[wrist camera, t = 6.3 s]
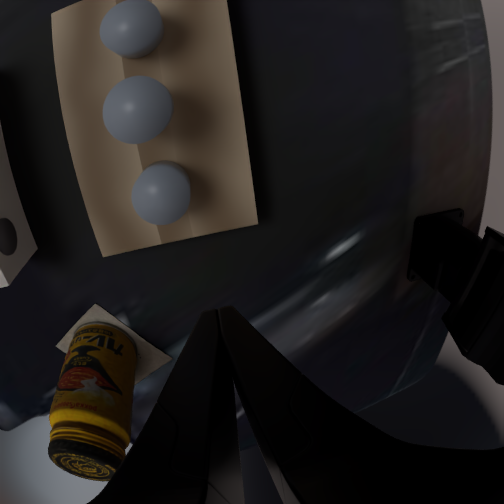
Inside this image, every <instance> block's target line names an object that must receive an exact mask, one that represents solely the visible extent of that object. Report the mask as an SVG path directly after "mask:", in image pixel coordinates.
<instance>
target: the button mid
mask: <svg viewBox="0 0 504 504" xmlns="http://www.w3.org/2000/svg"><path fill="white" fill-rule="evenodd" d="M173 112H174V101H173V98H172V95H171V93H170V91H169V90H168V89H167V88H166V87H165V86H164V85H163V84H161V83H160V82H159V81H157V80H155V79H153V78H151V77H148V76H132V77H129V78H126V79H124V80H122V81H120V82H119V83H117V84H116V85H115V86H114V87H113V88H112V89H111V90H110V92H109V93H108V95H107V97H106V99H105V101H104V105H103V120H104V124H105V126H106V128H107V130H108V131H109V133H110V134H111V135H112V136H113V137H114V138H116V139H117V140H119V141H121V142H124V143H128V144H140V143H144V142H147V141H149V140H151V139H153V138H155V137H156V136H157V135H158V134H160V133H161V132H162V131H163V130H164V129H165V128H166V127H167V126H168V124H169V123H170V121H171V119H172V116H173Z"/></svg>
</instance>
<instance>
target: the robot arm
mask: <svg viewBox="0 0 504 504" xmlns="http://www.w3.org/2000/svg"><path fill="white" fill-rule="evenodd" d="M463 217H464V211H463V210H462V209H460V208H458V209H453V210H448V211H443V212H438V213H434V214H429V215H424V216H419V217H417V218H416V219H415V222H414V230H413V238H412V246H411V253H410V260H409V266H408V272H407V279H408V280H409V281H411V282H412V281H415V280H418V279H421V278H422V279H423V280H424V281H425V282H426V283H427V284H428V285H429V286H431V287H432V288H433V289H434V290H435V291H437V290H438V291H439V292H440V293H441V294H442V295H443V296H444V297H445V298H446V299H447V300H448V301H449V302H450V303H451V304H450V306H449V308H448V310H447V311H446V313H444V315H443V316H442V320H443V322H444V323H445V325H446V327H447V329H448V331H449V332H450V334H451V336H452V337H453V339H454V341H455V343H456V345H457V346H458V348H459V350H460V352H461V354H462V355H463V356H464V357H466V358H467V359H468V360H470V361H472V362H474V363H476V364H477V365H480V366H482V367H483V368H484V369H485V370H486V371H487V372H488V373H489V375H490V376H491V377H492V378H493V379H494V380H495V382H496V383H498V384H501V385H504V234H503V233H500V232H498V231H496V230H494V229H492V228H490V227H488V226H487V227H486V230H485V235H484V237H483V239H482V238H480V237H479V236H477V235H476V234H474V233H473V232H471V231H470V230H468V229H467V228H465V227H463V226H462V223H463ZM420 221H421V222H420ZM419 223H420V224H419ZM232 377H233V378H232ZM233 381H234V383H233ZM234 384H235V387H236V390H237V392H238V395H239V398H240V400H241V403H242V406H243V408H244V411H245V413H246V416H247V418H248V421H249V423H250V426H251V428H252V431H253V433H254V436H255V438H256V441H257V443H258V446H259V448H260V450H261V453H262V455H263V457H264V460H265V462H266V465H267V467H268V469H269V472H270V474H271V476H272V478H273V481H274V483H275V485H276V488H277V490H278V492H279V494H280V496H281V499H282V501H283V503H284V504H504V447H502V448H497V449H490V450H474V449H456V448H445V447H434V446H426V445H418V444H412V443H408V442H404V441H401V440H399V439H396V438H394V437H392V436H390V435H388V434H386V433H384V432H383V431H381V430H379V429H378V428H376V427H375V426H373V425H371V424H370V423H368V422H366V421H365V420H363V419H362V418H360V417H359V416H357V415H356V414H354V413H352V412H351V411H349V410H348V409H346V408H345V407H343V406H342V405H340V404H339V403H338V402H336V401H335V400H333V399H332V398H331V397H329V396H328V395H327V394H325V393H324V392H323V391H322V390H321V389H319V388H318V387H317V386H316V385H315V384H313V383H312V382H311V381H310V380H309V379H308V378H307V377H306V376H305V375H303V374H302V373H301V372H300V371H299V370H298V369H297V368H296V367H295V366H294V365H293V364H292V363H291V362H289V361H288V360H287V359H286V358H285V357H284V356H283V355H282V354H281V353H280V352H279V351H278V350H277V349H276V348H275V347H274V346H273V345H272V344H271V343H270V342H268V341H267V340H266V339H265V338H264V337H263V336H262V335H261V334H260V333H259V332H258V331H257V330H256V329H255V328H254V327H253V326H252V325H251V324H250V323H249V322H248V321H247V320H246V319H245V318H244V317H243V316H242V315H241V314H240V313H239V312H238V311H237V310H236V309H235V308H234V307H233V306H226V307H221V308H218V310H216V309H211V310H206V311H203V312H202V313H201V314H200V316H199V318H198V320H197V322H196V324H195V326H194V328H193V330H192V332H191V334H190V336H189V338H188V340H187V342H186V344H185V346H184V348H183V350H182V352H181V354H180V356H179V358H178V360H177V362H176V364H175V366H174V368H173V370H172V372H171V374H170V376H169V378H168V380H167V382H166V384H165V386H164V388H163V390H162V392H161V394H160V396H159V398H158V400H157V402H158V403H156V404H155V406H154V408H153V410H152V412H151V414H150V416H149V418H148V420H147V422H146V423H145V425H144V427H143V429H142V431H141V432H140V434H139V436H138V437H137V439H136V441H135V442H134V444H133V445H132V447H131V449H130V450H129V452H128V453H127V455H126V456H125V458H124V459H123V461H122V462H121V464H120V465H119V467H118V468H117V470H116V471H115V473H114V474H113V476H112V477H111V479H110V480H109V482H108V483H107V485H106V486H105V487H104V489H103V490H102V491H101V492H100V493H99V495H97V496H96V497H95V498H94V499H93V500H91V501H90V502H89V503H87V504H245V500H244V491H243V482H242V472H241V463H240V462H241V461H240V451H239V440H238V429H237V418H236V406H235V393H234Z"/></svg>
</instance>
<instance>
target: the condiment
mask: <svg viewBox="0 0 504 504" xmlns="http://www.w3.org/2000/svg"><path fill="white" fill-rule="evenodd" d="M56 347H57V348H59V349H60V350H62V351H63V352H65V353H66V354H67V355H66V357H65V362H64V365H63V367H62V371H61V374H60V377H59V381H58V385H57V388H56V393H55V396H54V399H53V403H52V405H51V410H50V415H49V420H50V424H51V427H52V430H51V432H50V443H49V447H48V454H49V457H50V459H51V460H52V461H53V463H55V464H56V465H57V466H58V467H60V468H61V469H63V470H64V471H67V472H69V473H70V474H73V475H75V476H78V477H81V478H85V479H90V480H96V481H109V480H110V479H111V477H112V476H113V474H114V473H115V471H116V470H117V468H118V467H119V465H120V464H121V462H122V461H123V459H124V458H125V456H126V454H125V449H126V448H127V447H128V445H129V443H130V438H131V422H132V404H133V391H134V385H136V384H137V383H139V382H140V381H141V380H142V379H144V378H145V377H147V376H148V375H150V374H151V372H154V371H156V370H157V369H159V368H160V367H161V366H162V365H164V364H166V363H167V362H169V361H170V360H172V359H173V358H171V357H169V356H168V355H166V354H164V353H163V352H162V351H160V350H159V349H157V348H155V347H154V346H153V345H151V344H150V343H148V342H146V341H145V340H144V339H143V338H141V337H140V336H139V335H137V334H136V333H135V332H134V331H132V330H131V329H130V328H128V327H127V326H125V325H124V324H123V323H121V322H120V321H118V320H117V319H116V318H115V317H113V316H112V315H110V314H109V313H108V312H107V311H106V310H104V309H103V308H101V307H100V306H98V305H96V304H94V305H93V306H92V307H91V308H90V309H89V311H87V312H86V314H85V315H84V316H83V317H82V318H81V319H80V320H79V321H78V322H77V323H76V324H75V325H74V326H73V327H72V328H71V329H70V331H69V332H68V333H67V334H66V335H65V336H64V337H63V339H62V340H61V341H60V342H59V343H58V344H57V345H56ZM138 354H140V355H138ZM140 357H141V359H140Z"/></svg>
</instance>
